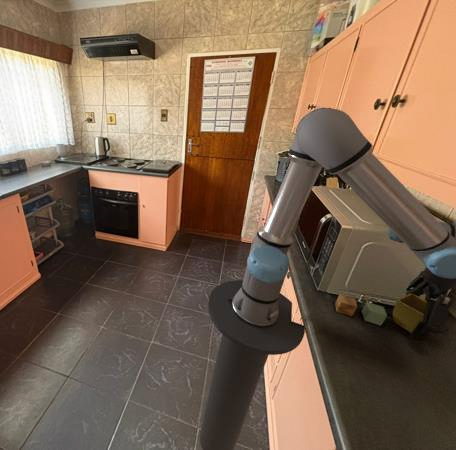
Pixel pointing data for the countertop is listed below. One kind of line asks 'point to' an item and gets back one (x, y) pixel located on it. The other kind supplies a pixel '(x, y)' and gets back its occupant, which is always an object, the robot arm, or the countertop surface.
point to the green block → (374, 313)
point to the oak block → (345, 305)
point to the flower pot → (409, 311)
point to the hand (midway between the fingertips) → (408, 324)
